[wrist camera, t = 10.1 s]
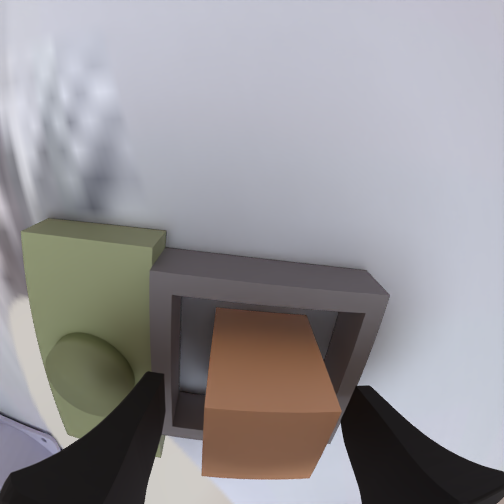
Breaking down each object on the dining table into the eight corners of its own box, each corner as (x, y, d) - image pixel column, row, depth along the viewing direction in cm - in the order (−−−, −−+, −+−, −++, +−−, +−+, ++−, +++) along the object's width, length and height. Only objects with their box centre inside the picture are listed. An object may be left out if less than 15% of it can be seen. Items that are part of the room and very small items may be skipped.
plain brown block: (210, 376, 15) (201, 475, 9) (216, 307, 14) (204, 407, 8) (289, 381, 15) (309, 478, 10) (306, 314, 14) (341, 411, 8)
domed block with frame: (79, 410, 16) (62, 446, 13) (48, 218, 12) (6, 238, 9) (309, 439, 17) (317, 479, 14) (370, 255, 13) (403, 285, 10)
